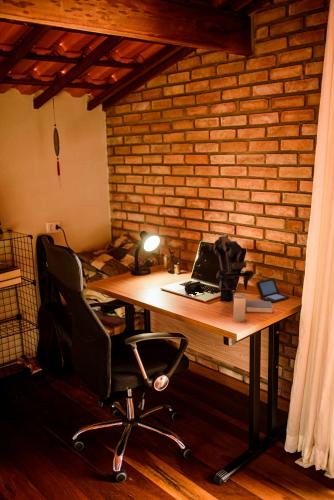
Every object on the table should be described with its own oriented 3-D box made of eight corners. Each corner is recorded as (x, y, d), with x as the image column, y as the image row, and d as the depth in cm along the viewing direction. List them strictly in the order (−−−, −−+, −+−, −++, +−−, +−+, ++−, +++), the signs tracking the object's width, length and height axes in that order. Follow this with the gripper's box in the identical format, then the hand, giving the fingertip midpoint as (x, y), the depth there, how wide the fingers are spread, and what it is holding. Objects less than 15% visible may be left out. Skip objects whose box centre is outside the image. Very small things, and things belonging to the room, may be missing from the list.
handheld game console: (272, 304, 258) (273, 288, 256) (254, 297, 269) (255, 282, 267) (290, 298, 268) (292, 283, 266) (272, 293, 278) (273, 277, 276)
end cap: (196, 291, 280) (196, 280, 278) (205, 293, 274) (205, 282, 273) (184, 294, 273) (184, 283, 272) (192, 297, 268) (193, 286, 266)
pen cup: (231, 321, 232) (232, 296, 229) (234, 316, 238) (235, 292, 235) (243, 322, 230) (244, 297, 227) (246, 318, 236) (247, 293, 233)
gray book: (245, 312, 245) (245, 306, 244) (243, 305, 255) (244, 300, 254) (272, 313, 243) (273, 307, 243) (270, 306, 253) (270, 301, 253)
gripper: (219, 255, 238) (223, 283, 231) (254, 255, 241) (259, 283, 234) (214, 265, 248) (218, 292, 240) (248, 265, 251) (252, 292, 244)
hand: (237, 289), depth 239 cm, fingers open, 9 cm apart
